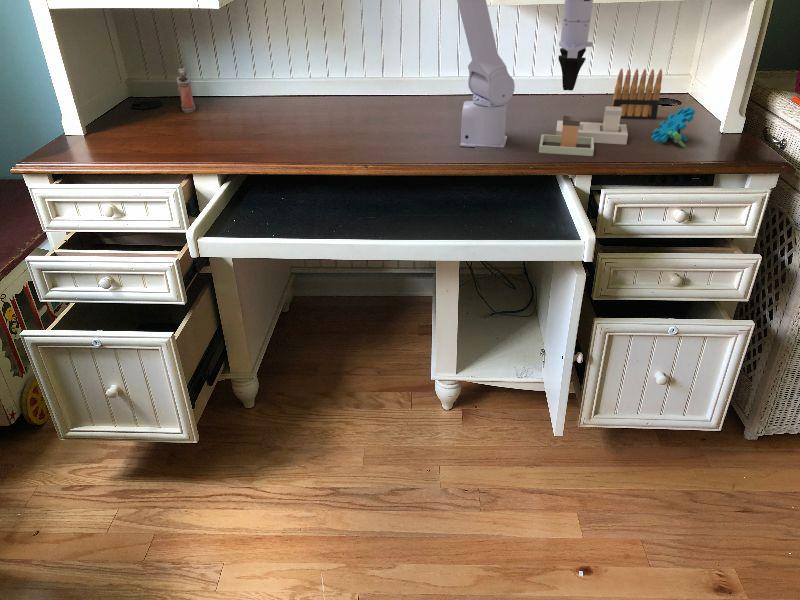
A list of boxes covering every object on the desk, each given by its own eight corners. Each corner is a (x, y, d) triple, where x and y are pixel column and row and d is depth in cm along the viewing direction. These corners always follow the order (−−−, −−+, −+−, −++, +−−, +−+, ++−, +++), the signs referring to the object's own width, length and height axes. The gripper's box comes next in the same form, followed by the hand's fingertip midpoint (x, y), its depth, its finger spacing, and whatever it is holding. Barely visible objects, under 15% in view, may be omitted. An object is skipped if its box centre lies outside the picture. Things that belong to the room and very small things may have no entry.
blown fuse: (559, 150, 135) (563, 120, 132) (560, 145, 138) (563, 115, 135) (575, 151, 134) (580, 121, 131) (576, 146, 137) (580, 116, 134)
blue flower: (649, 126, 145) (689, 97, 139) (664, 144, 147) (705, 117, 140) (649, 148, 137) (692, 118, 131) (666, 167, 139) (709, 139, 132)
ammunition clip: (609, 120, 155) (618, 69, 148) (608, 118, 156) (616, 67, 150) (655, 121, 153) (666, 69, 147) (654, 119, 155) (664, 68, 149)
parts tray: (538, 155, 134) (539, 145, 133) (540, 143, 141) (541, 134, 140) (592, 158, 132) (594, 149, 131) (592, 146, 139) (593, 137, 138)
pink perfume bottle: (181, 105, 172) (174, 66, 167) (194, 103, 173) (187, 65, 168) (182, 113, 166) (174, 73, 161) (195, 111, 167) (188, 72, 161)
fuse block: (554, 142, 141) (556, 131, 140) (556, 131, 148) (557, 120, 146) (625, 147, 138) (627, 135, 137) (624, 135, 145) (626, 124, 143)
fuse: (601, 139, 141) (605, 110, 137) (600, 134, 143) (605, 106, 140) (617, 140, 140) (622, 111, 137) (616, 135, 143) (621, 106, 139)
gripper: (596, 26, 129) (587, 94, 136) (595, 15, 141) (587, 79, 148) (560, 25, 130) (553, 93, 137) (562, 14, 142) (555, 77, 149)
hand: (568, 85), depth 143 cm, fingers open, 7 cm apart
